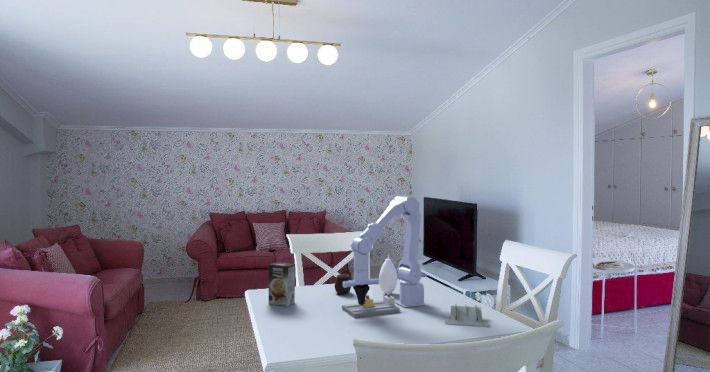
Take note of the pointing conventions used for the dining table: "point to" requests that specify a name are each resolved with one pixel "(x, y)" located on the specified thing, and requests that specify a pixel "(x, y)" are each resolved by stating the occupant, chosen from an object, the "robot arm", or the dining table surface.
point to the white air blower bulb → (388, 277)
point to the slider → (368, 302)
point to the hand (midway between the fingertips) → (361, 304)
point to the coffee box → (281, 283)
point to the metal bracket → (466, 316)
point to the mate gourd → (339, 284)
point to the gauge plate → (373, 308)
